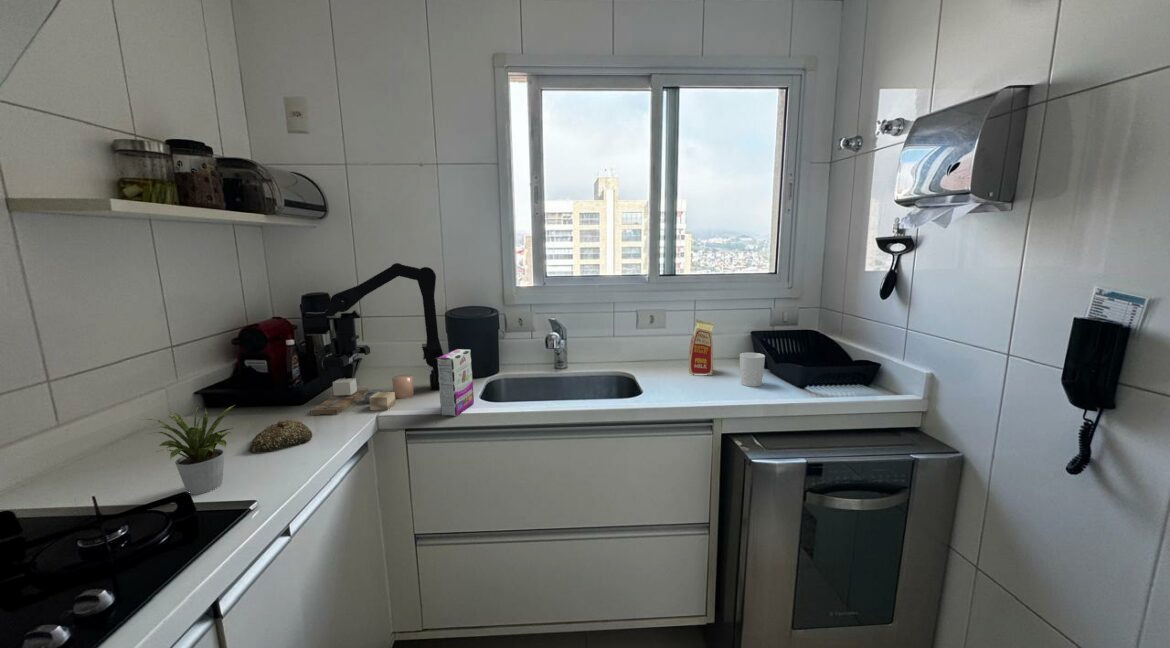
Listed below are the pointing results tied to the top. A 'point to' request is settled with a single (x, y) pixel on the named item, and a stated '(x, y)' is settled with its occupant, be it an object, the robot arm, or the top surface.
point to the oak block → (382, 401)
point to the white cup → (751, 369)
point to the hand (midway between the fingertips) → (349, 382)
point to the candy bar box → (455, 382)
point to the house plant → (198, 453)
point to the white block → (344, 386)
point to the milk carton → (701, 349)
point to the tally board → (338, 403)
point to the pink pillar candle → (403, 386)
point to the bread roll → (281, 436)
